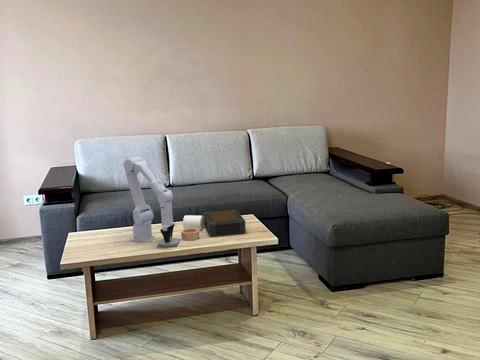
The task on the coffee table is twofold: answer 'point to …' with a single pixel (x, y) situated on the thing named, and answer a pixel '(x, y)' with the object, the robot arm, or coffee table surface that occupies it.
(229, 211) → the cash box
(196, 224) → the mug
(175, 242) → the lid
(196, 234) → the bowl
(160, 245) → the mat
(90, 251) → the coffee table surface
